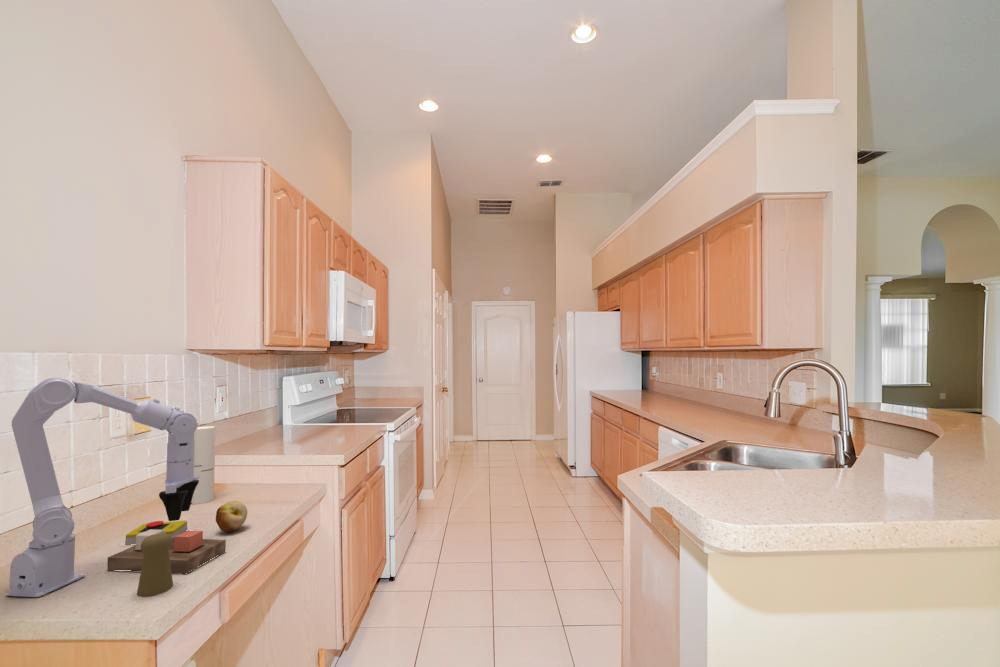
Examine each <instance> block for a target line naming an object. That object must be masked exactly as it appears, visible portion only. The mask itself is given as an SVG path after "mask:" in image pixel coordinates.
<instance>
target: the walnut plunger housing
mask: <svg viewBox="0 0 1000 667" xmlns="http://www.w3.org/2000/svg"><path fill="white" fill-rule="evenodd" d="M226 543H227V542H226V539H217V538H216V539H213V538H208V539H207V538H203V545H201V546H199V547H198V548H196V549H194V550H192V551H190V552H183V551H174V538H172V543H171V546H170V548H169V549H168V550H169V558H170V565H171V573H188V572H189V571H191V570H193V569H195V568H197V567H198V566H200V565H202V564H203V563H205V562H207V561H209V560H210V559H212V558H214V557H216V556H217V555H220V554H221V553H223V552H225V551H226V549H227V548H226V545H227V544H226ZM135 546H136V545H132V546H130V547H129V548H125V549H124V550H122V551H119V552H117V553H115V554H113V555H110V556H108V557H107V568H106V571H107V570H131V571H141V568H142V563H143V557H144V554H143V553H142V551H141V550H135ZM225 553H226V552H225ZM223 554H224V553H223ZM220 556H221V555H220ZM216 558H217V557H216ZM209 562H210V561H209ZM202 566H203V565H202ZM197 569H198V568H197ZM195 570H196V569H195ZM188 574H189V573H188Z"/></svg>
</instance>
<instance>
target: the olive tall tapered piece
mask: <svg viewBox="0 0 1000 667" xmlns="http://www.w3.org/2000/svg"><path fill="white" fill-rule="evenodd" d="M171 543H172V538H171V536H170V535H169V534H166V533H160V534H154V535H151V536H148V537H147V538H145V539H144V540H143V542H142V544H141V551H142V553H143V554H144V557H143V563H142V568H141V572H140V575H139V580H138V586H137V591H136V595H137V597H140V596H141V597H140V598H148V597H153V596H157V594H158V595H160V594H164V593H166V592H168V591H169V590H171V589H172V588H173V586H174V582H173V574H172V573H171V565H170V558H169V550H168V549H169V548H170V546H171ZM163 592H164V593H163Z"/></svg>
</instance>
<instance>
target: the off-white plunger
mask: <svg viewBox="0 0 1000 667" xmlns="http://www.w3.org/2000/svg"><path fill="white" fill-rule="evenodd" d="M160 533H165V530H153V529H150V530H148V531H146V532H143V533H141V534H138V535H136V546H135V545H134V546H135V550H141V544H142V542H143V540H144V539H145V538H147V537H148V536H151V535H154V534H160Z"/></svg>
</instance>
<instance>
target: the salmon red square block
mask: <svg viewBox="0 0 1000 667" xmlns="http://www.w3.org/2000/svg"><path fill="white" fill-rule="evenodd" d="M203 535H204V531H203V530H195V531H189V530H188V531H185V532H183V533H181V534H179V535H177V536H175V537H174V551H183V552H190V551H192V550H194V549H196V548H198V547H199V546H201V545H203V539H204V538H203V537H204V536H203Z"/></svg>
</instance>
